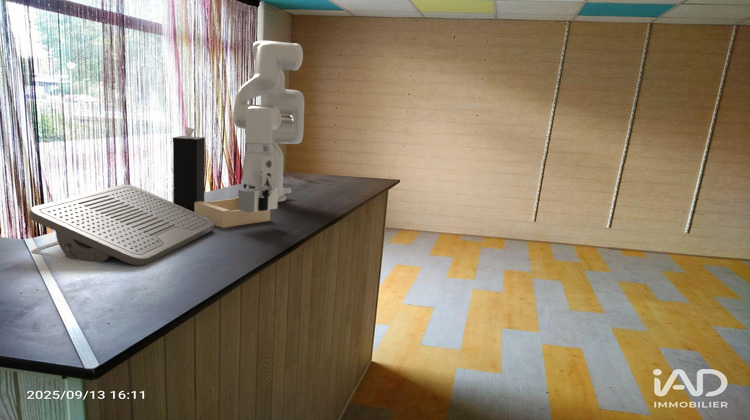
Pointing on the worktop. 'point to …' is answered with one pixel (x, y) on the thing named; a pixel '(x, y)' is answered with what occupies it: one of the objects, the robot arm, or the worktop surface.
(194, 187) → the tissue box
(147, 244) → the foot rest
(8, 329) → the worktop surface
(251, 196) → the capped box
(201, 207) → the carton
